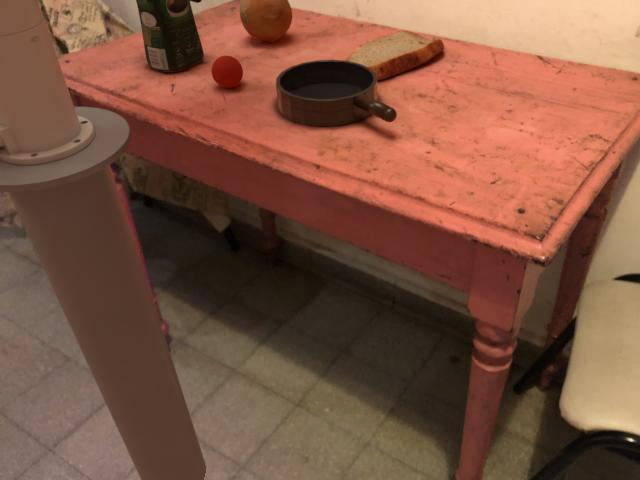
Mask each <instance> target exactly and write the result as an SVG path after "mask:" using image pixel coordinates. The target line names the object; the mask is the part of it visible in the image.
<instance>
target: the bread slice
mask: <svg viewBox="0 0 640 480" xmlns="http://www.w3.org/2000/svg"><path fill="white" fill-rule="evenodd" d="M444 50H445V44H444V42H443V40H442V39H441V38H437V39H436V38H435V37H434V38H432V39H429V38H426V37H424V36H421V35H419V34H418V33H415V32H412V31H409V30H404V29H403V30H399V31H398V30H397V31H396V32H392V33H389V34H384V35H380V36H378V37H376V38H373V39H372V40H369V41H366V42H364V43H362V44H361V45H360V47H359V48H358V49H356V50H355V51H353V52H352V53H351V54H349V56H348V57H347V58H346V61H350V62H354V63H359V64H361V65H364V66H366V67H368V68H370V69H371V70H372V71H373V72H375V73H376V76H377V80H378V81H380V80H381V81H382V80H386V79H387V78H391V77H394V76H395V75H398V74H402V73H403V72H407V71H409V70H411V69H413V68H417V67H418V66H420V65H424V64H425V63H427V62H428V61H430V60H432V59H433V58H434V57H436V55H438V54H440V53H442V52H443V51H444Z"/></svg>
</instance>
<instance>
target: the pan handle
mask: <svg viewBox="0 0 640 480" xmlns="http://www.w3.org/2000/svg"><path fill="white" fill-rule="evenodd" d="M354 102H355V105H356V106H357V107H358V108H360V109H362V110H364V111H366V112H368V113H370V115H372V116H375V117H376V118H378V119H380V120H383V121H385V122H386V123H394V121H395V120H396V119H397V118H398V117H397V116H398V113H397V112H398V111H397V110H396V109H395V108H393V107H392V106H390V105H387V104H385V103H383V102H381V101H380V100H378V99H377V100H375V99H373V98H371V97H369V96H367V95H365V94H358V95H357V96H356V98H355V101H354Z"/></svg>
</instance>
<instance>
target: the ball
mask: <svg viewBox="0 0 640 480" xmlns="http://www.w3.org/2000/svg"><path fill="white" fill-rule="evenodd" d="M211 76H212V78H213V80H214V82H215V83H216V84H217V85H218V86H220V87H221V88H225V89H232V88H234V87H237V86H238V85H239V84H240V83H241V81H242V80H243V76H244V69H243V66H242V64H241V62H240V60H238V59H237V58H235V57H234V56H231V55H221V56H219V57H217V58H216V59H215V60H214V61H213V63H212V65H211Z"/></svg>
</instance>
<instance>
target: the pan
mask: <svg viewBox="0 0 640 480" xmlns="http://www.w3.org/2000/svg"><path fill="white" fill-rule="evenodd" d="M378 81H379V80H377V76H376V73H375V72H373V71H372V70H371V69H370V68H368V67H366V66H364V65H361V64H359V63H354V62H350V61H347V60H342V59H340V60H339V59H321V60H320V59H319V60H311V61H306V62H301V63H298V64H295V65H292V66H290V67H288V68H286V69H284V70H282V71H281V72H280V73H279V75H278V76H276V78H275V89H276V90H275V91H276V100H277V106H278V110H279V112H280V113H281V115H282V116H283V117H284V118H286V119H288V120H289V121H292V122H293V123H294V122H295V123H297V124H300V125H305V126H313V127H338V126H343V125H344V126H345V125H350V124H353V123H356V122H359V121H361V120H363V119H365V118H367V117H368V116H370V115H371V114H370V113H368V112H366V111H364V110H362V109H360V108H358V107H357V106H356V105H355V102H354V101H355V98H356V96H357V95H358V94H365V95H367V96H369V97H371V98H373V99H375V100H377V101H378V84H379V83H378Z"/></svg>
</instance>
